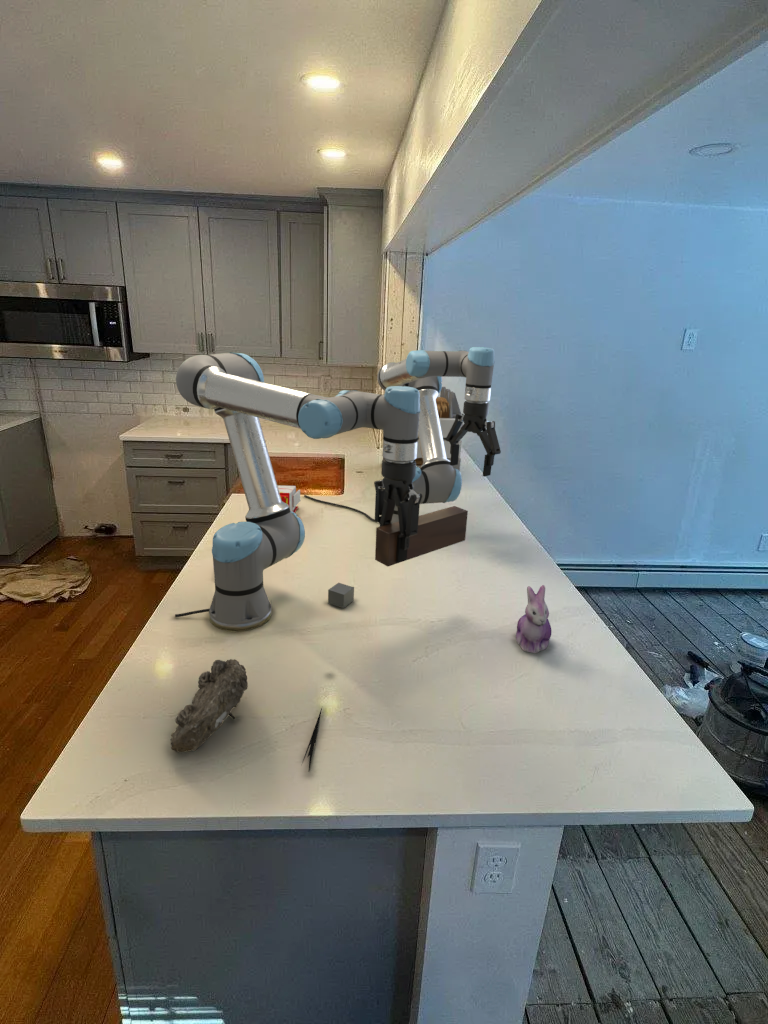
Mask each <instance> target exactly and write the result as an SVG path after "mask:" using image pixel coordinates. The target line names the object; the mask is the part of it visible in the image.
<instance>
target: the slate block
mask: <svg viewBox="0 0 768 1024" xmlns="http://www.w3.org/2000/svg"><path fill="white" fill-rule="evenodd" d="M354 600H355V587H354V586H352V585H351V586H350V585H348V584H345V583H341V582H338V583H335V585H333V586H331V587H330V588H328V589H327V603H328V604H330V605H333V606H336V607H339V608H341V609H345V608H346V607H347V606H349V605H350V604H352V602H353V601H354Z"/></svg>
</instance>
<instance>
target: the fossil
mask: <svg viewBox="0 0 768 1024" xmlns="http://www.w3.org/2000/svg"><path fill="white" fill-rule="evenodd" d="M197 683H198V684H197V687H198V690H197V691H196V693H195V694H194V697H193V698H192V701H191V704H187V705H185V706H184V707H183V708H182V709H181V710H179V712H178V713H177V715H176V717H175V719H174V721H175V723H176V725H177V726H176V728H175V730H174V731H173V732H172V733H171V735H170V736H171V738H170V747H171V750H172V751H176V752H178V753H186V752H190V751H193V752H195V751H197V750H198V749H199V748H200V747H201V746H202V745H203V744H204V743H205V742H207V741H208V740H209V739H210V737H211V736H212V735H213V734H215V733H216V731H218V730H219V729H220V728H221V726H222V725H223V723H224V721H225V720H226V719H227V718H228V717H230V718H232V720H235V719H236V716H235V715H234V714H233V713H232V710H233V709H235V708H237V706H238V705H239V704H240V702H241V700H242V698H243V696H244V693H245V691H246V690H247V689H248V686H249V685H248V675H247V669H246V668H245V666H244V665H243V664H241V663H240V661H238V660H237V659H236V658H234V659H232V658H230V659H226V660H221V659H216V660H214V661H213V662H212V665H211V667H210V671H208V670H207V671H205V672H201V674H200V675H199V676H198V681H197Z"/></svg>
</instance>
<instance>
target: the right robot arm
mask: <svg viewBox="0 0 768 1024" xmlns="http://www.w3.org/2000/svg"><path fill="white" fill-rule="evenodd" d="M495 354H496V353H495V350H494V348H491V347H485V346H484V347H483V346H472V347H471V346H470V348H469V350H468V351H467V350H461V349H459V350H447V351H446V350H423V349H418V350H410V351H409V352H408V354H407V356H406V358H405V359H402V360H400V361H397V362H395V361H392V362H388V363H385V364H383V365H381V367H380V368H379V370H378V372H377V376H376V379H377V383H378V386H379V387H380V388H381V389H382V390H383V391H384V392H385V390H386V388H387V387H390V386H403V387H404V386H406V387H413V388H416V389H417V390H418V391H419V393H420V415H419V426H418V437H419V443H420V448H421V454H422V459H423V465H422V466H416V475H415V477H414V479H413V481H412V484H413V490H414V491H415V492H416V493H417V494H418V493H421V494H422V499H421V502H420V505H425V504H426V505H428V504H441V503H442V504H446V503H451V502H455V501H457V499H458V498H459V496H460V494H461V491H462V486H463V479H462V477H463V476H462V473H461V471H460V472H459V470H458V469H453V465H458V456H459V446H460V445H459V444H458V442H459V441H460V440H461V441H462V438H464V437H465V436H466V435H467V433H473V434H476V436H478V437H479V439H480V441H481V443H482V445H483V448H484V450H485V453H486V454H484V460H483V468H482V469H483V470H482V477H488V476H491V475H492V467H493V466H494V464H495V463H494V462H495V456H496V455H500V454H501V453H502V450H501V447H500V442H499V439H498V435H497V431H496V421H495V420H490V421H489V420H487V417H488V415H489V413H490V412H489V411H490V403H489V402H490V401H491V393H492V383H493V375H494V369H495ZM443 377H444V378H446V377H447V378H449V377H451V378H454V377H455V378H458V377H459V378H465V387H464V388H465V389H464V390H465V391H464V400H465V401H463V408H462V413H461V414H456V417H455V421H454V423H453V425H452V427H451V430H450V432H449V434H448V436H447V438H446V441H448V442H450V444H451V446H450V454H451V461H449V460H448V459H447V457H446V452H445V447H444V442H443V437H442V431H441V426H440V421H439V416H438V411H437V406H436V399H437V397H439V396H440V392H441V388H442V387H443ZM462 422H463V426H462V427H461V428H460V426H461V425H462ZM459 428H460V430H459ZM458 430H459V432H458ZM457 432H458V433H457ZM303 498H307V499H309V500H311V501H314V502H318V503H321V504H326V505H331V506H336V507H338V508H344V509H347V510H351V511H354V512H357V513H359V514H361V515H363V516H364V517H366V518H367V519H368V520H370V521H371V522H375V518H372V517H371V516H370V515H368V514H367V513H366V512H364V511H363V510H359V509H357V508H354V507H352V506H351V507H350V506H347V505H343V504H339V503H335V502H330V501H325V500H320V499H317V498H314V497H312V496H309V495H306V494H304V495H303ZM403 502H404V501H403ZM391 522H392V523H395V522H399V518H398V508H397V507H396V505H395V508H394V512H393V517H392V521H391ZM375 523H376V522H375ZM378 527H380V525H379V526H378Z"/></svg>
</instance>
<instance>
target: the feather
mask: <svg viewBox="0 0 768 1024" xmlns="http://www.w3.org/2000/svg"><path fill="white" fill-rule="evenodd" d="M329 675H330V676H331V675H332V674H331V673H330V674H329ZM322 710H323V707H321V708H320V710H319V713H318V716H317V719H316V723H315V725H314V728H313V731H312V733H311V737H310V739H309V742H308V745H307V748H306V751H305V754H304V757H303V760H302V763H301V767H302V765H303V763H304V761H305V758H308V759H309V760H308V762H307V763H308V764H307V766H308V771H310V770H311V766H312V765H311V764H312V760H313V757H315V756H314V755H315V751H316V749H315V746H317V739H318V733H319V729H320V722H321V717H322V712H323V711H322ZM313 754H314V755H313ZM306 755H307V757H306Z"/></svg>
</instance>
